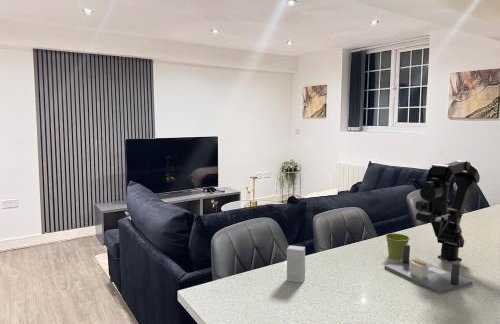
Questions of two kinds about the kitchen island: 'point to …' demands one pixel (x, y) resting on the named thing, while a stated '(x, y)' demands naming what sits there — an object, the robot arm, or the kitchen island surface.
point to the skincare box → (296, 264)
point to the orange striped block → (419, 268)
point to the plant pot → (396, 244)
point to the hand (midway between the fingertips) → (437, 236)
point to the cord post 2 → (455, 273)
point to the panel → (429, 277)
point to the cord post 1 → (406, 254)
